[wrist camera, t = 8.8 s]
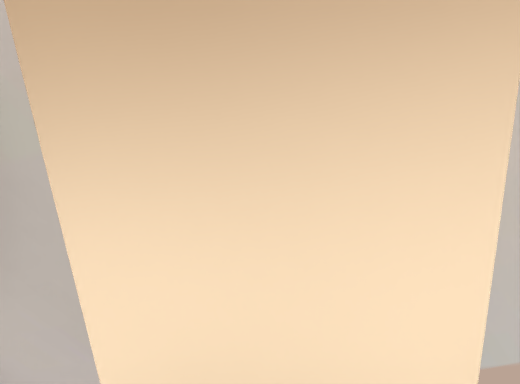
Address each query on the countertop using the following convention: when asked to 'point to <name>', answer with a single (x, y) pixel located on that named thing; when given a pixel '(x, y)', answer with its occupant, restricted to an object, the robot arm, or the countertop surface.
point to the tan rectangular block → (276, 181)
